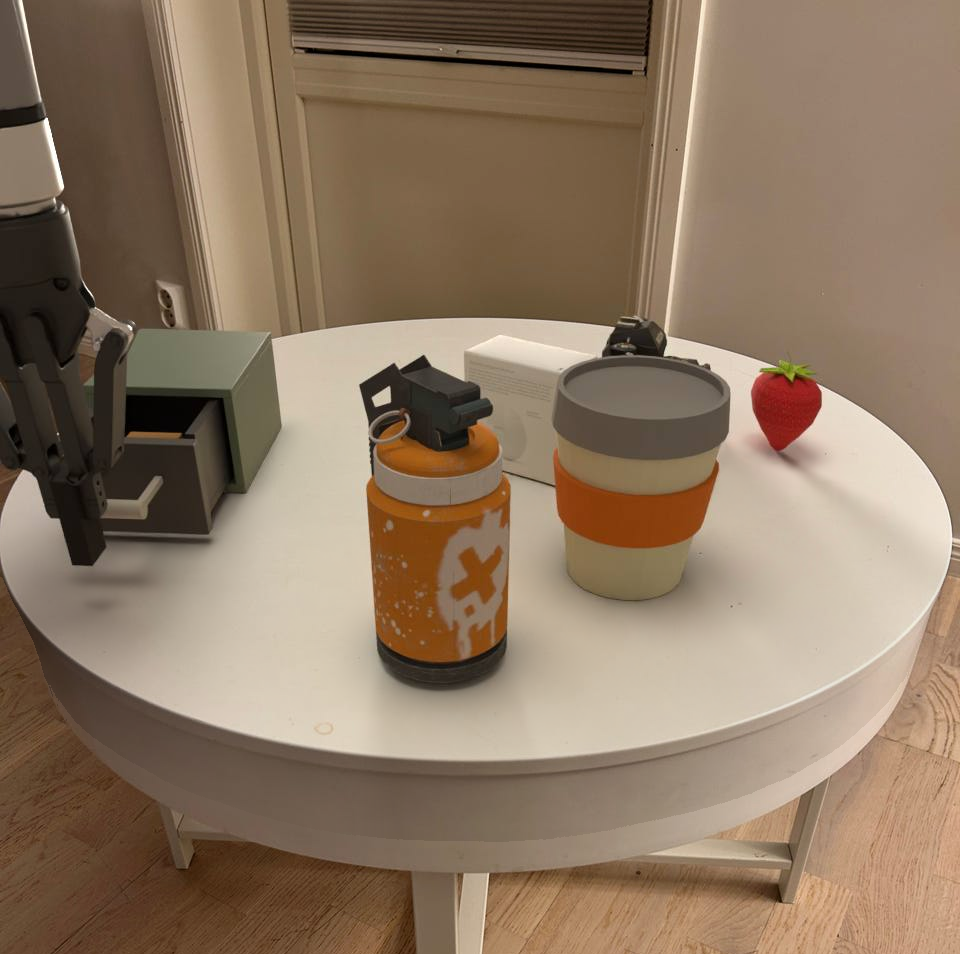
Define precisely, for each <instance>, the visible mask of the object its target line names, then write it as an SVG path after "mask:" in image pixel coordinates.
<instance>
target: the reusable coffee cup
mask: <svg viewBox="0 0 960 954" xmlns="http://www.w3.org/2000/svg"><path fill="white" fill-rule="evenodd" d="M730 414H731V387H730V385H729V383H728V382H727V381H726V380H725V379H724V378H723V377H721V376H720V375H719V374H718V373H716V372H714V371H712V370H711V371H710V370H708V369H706V368H703V367H701V366H698V365H695V364H692V363H688V362H685V361H680V360H675V359H670V358H663V357H655V356H641V355H621V356H608V357H602V356H601V357H597V358H595V359H591V360H587V361H583V362H580V363H578V364H575V365H573V366H571V367H569V368H568V369H566V370H564V371H563V372H562V374H561V375H560V376H559V378H558V381H557V387H556V393H555V399H554V405H553V411H552V418H551V420H552V425H553V427H554V429H555V430H556V432H557V444H558V447H557V448H556V449H555V451H554V455H553V465H554V477H555V485H554V487H555V499H556V501H555V502H556V510H557V515H558V518H559V519H560V521H561V523H562V524H563V531H564V532H563V533H564V545H565V546H564V547H565V559H566V569H567V573H568V575H569V576H570V578H571V580H572V581H573V582H575V584H577V586H579V587H581V588H582V589H584V590H585V591H587V592H590V593H592V594H595V595H597V596H601V597H603V598H608V599H613V600H621V601H642V600H649V599H654V598H657V597H661V596H664V595H666V594H668V593H669V592H671V591H672V590H674V589H676V587H677V586H678V585H679V583H680V582H681V578H682V576H683V573H684V569H685V566H686V562H687V559H688V556H689V553H690V549H691V546H692V543H693V540H694V536H695V535H696V534H697V533H698V532H699V531H700V530H701V529H702V526H703V525H704V522H705V518H706V515H707V512H708V508H709V505H710V502H711V498H712V495H713V492H714V488H715V485H716V482H717V478H718V476H719V471H720V463H719V461H718V459H717V458H718V455H719V451H720V448H721V444H722V443H723V442H725V440H727V437H728V436H729V433H730V417H731V416H730Z"/></svg>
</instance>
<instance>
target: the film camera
mask: <svg viewBox="0 0 960 954" xmlns="http://www.w3.org/2000/svg"><path fill="white" fill-rule="evenodd" d="M605 343H606V344H605V346H604V348H603V349H602V350H601V358H602V357H608V356H621V355H641V356H655V357H663V358H670V359H675V360H680V361H685V362H688V363H692V364H695V365H698V366H701V367H703V368H706V369H708V370H710V371H712V367H711V364H710V363H707V362H706V363H704V364H699V363H700V362H699V361H698V359H697V358H687V357H679V356H676V355H665V351H666V348H667V346H668V339H667V334H666V332H665V330H664V329H662V327H660V326H659V325H658V324H657V323H656V322H655V321H654V320H649V319H648V318H646V317H644V316H639V315H631V316H620V318H619V319H618V321H617V322H616V324H615V326H614V329H613V331H612V332H611V333H610V334H609V336H608V338H607V339H606V342H605Z"/></svg>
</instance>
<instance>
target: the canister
mask: <svg viewBox="0 0 960 954" xmlns="http://www.w3.org/2000/svg"><path fill="white" fill-rule="evenodd" d="M358 387H359V391H360V394H361V398H362V402H363V403H362V404H363V407H364V410H365V414H366V418H367V425H368V430H367V431H368V432H367V433H368V434H367V435H368V441H369V442H368V447H369V449H368V450H369V458H370V460H369V463H370V473H371V477H370V478H369V480H368V481H367V483H366V487H365V489H366V491H365V492H366V507H367V517H368V518H367V520H368V535H369V550H370V551H369V552H370V565H371V579H372V580H371V581H372V594H373V608H374V610H373V611H374V622H375V623H374V624H375V636H376V637H375V638H376V651H377V653H378V656H379V658H380V659H381V661H382V663H384V664H385V665H386V666H387V667H388V669H391V670H392V671H393V672H395V673H397V674H399V675H401V676H402V677H406V678H407V679H412V680H416V681H420V682H427V683H442V684H443V683H444V684H445V683H455V682H461V681H466V680H469V679H473V678H475V677H478V676H480V675H482V674H483V675H484V674H485V673H486V672H488V671H490V670H492V669H493V668H494V667H495V666H496V665H497V664H499V663H500V661H501V660H502V659H503V657H504V656H505V654H506V651H507V647H508V618H509V617H508V614H509V613H508V611H509V576H510V575H509V574H510V573H509V572H510V571H509V570H510V567H509V566H510V535H511V532H510V531H511V495H512V494H511V493H512V489H511V488H512V484H511V481H510V480H509V478H508V477H507V475H506V474H505V473H504V472H503V470H502V447H501V445H500V443H499V442H498V439H497V437H496V435H495V434H494V433H493V432H492V430H490V429H489V428H488V427H486V426H485V425H483V424H481V423H479V422H477V420H480V419H483V418H486V417H489V416H491V415H492V412H493V405H492V404H491V402H490V400H489V399H488V398H482V399H481V389H480V387H479V385H477V384H475V383H473V382H471V381H468V382H465V381H464V380H462V379H460V378H459V377H456V376H454V375H451V374H449V373H447V372H445V371H443V370H441V369H439V368H437V367H435V366H432V364H431V363H430V361H429V359H428V358H427V356H426V354H423V355H421V356H419V357H418V358H416V359H414V360H413V361H410V362H409V363H407V364H406V365H404V366H402V367H401V368H400V369H399V367H398V365H397V364H396V362H392V363H391V364H390V365H388V366H387V367H385V368H383V369H381V370H380V371H378V372H377V373H375V374H373V375H372V376H371V377H369V378H367V379H366V380H364V381H362V382H361V383H359V384H358ZM387 388H389V390H390V402H387V403H385V404H381V405H378V406H376V405H375V403H374V400H373V397H375V396H376V395H378V394H379V393H381V392H383V391H384V390H385V389H387Z"/></svg>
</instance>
